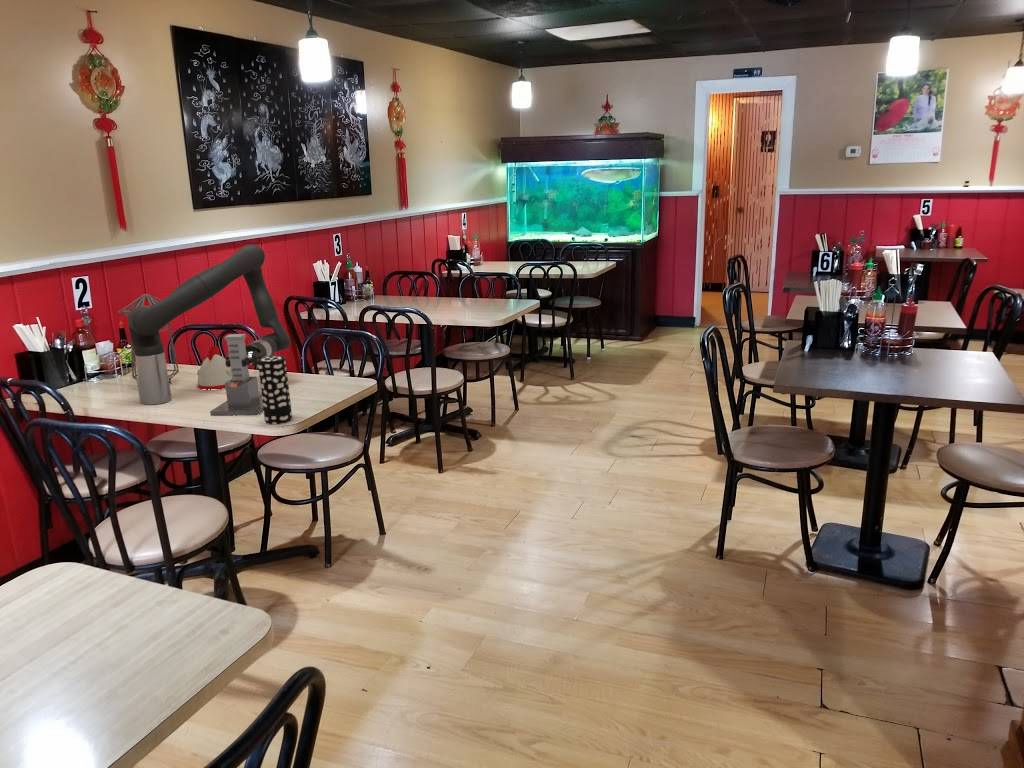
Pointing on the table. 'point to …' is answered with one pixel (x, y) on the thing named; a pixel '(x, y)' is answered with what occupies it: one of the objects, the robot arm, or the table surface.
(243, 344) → the stand post
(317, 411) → the table surface
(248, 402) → the stand base
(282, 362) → the white-spotted black cylinder
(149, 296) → the geometric lantern
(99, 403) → the table surface
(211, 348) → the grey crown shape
